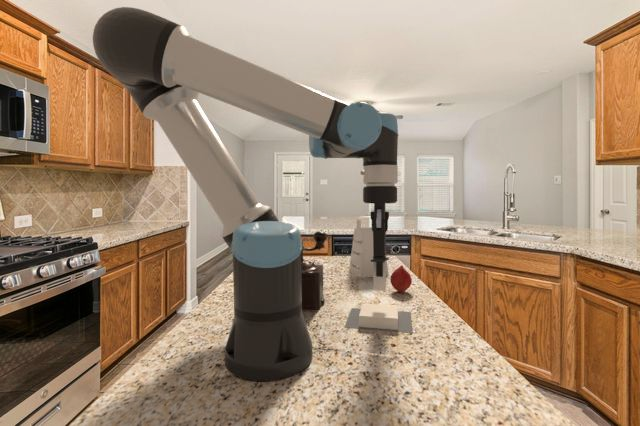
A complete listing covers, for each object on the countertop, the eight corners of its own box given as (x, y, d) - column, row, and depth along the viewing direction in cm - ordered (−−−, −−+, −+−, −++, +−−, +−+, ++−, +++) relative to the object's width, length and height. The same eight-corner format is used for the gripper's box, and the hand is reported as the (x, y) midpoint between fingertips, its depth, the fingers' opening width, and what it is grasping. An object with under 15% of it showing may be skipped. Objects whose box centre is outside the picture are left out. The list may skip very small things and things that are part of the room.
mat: (412, 334, 68) (412, 332, 68) (344, 328, 71) (344, 327, 71) (410, 313, 80) (410, 312, 80) (351, 309, 83) (351, 308, 83)
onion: (388, 294, 95) (388, 266, 94) (393, 289, 100) (393, 262, 99) (408, 297, 92) (409, 268, 91) (413, 291, 97) (413, 264, 97)
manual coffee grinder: (322, 312, 81) (321, 238, 80) (277, 310, 83) (276, 237, 82) (328, 292, 97) (328, 230, 96) (290, 291, 98) (289, 230, 97)
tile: (397, 316, 77) (397, 330, 70) (362, 313, 79) (358, 327, 71) (397, 305, 77) (397, 318, 69) (362, 303, 79) (358, 315, 71)
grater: (348, 270, 123) (348, 216, 122) (374, 268, 126) (375, 215, 125) (360, 277, 113) (360, 218, 112) (388, 275, 116) (389, 217, 115)
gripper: (365, 185, 82) (365, 281, 84) (360, 185, 70) (360, 297, 71) (397, 185, 81) (396, 282, 82) (397, 184, 68) (396, 299, 69)
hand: (379, 289), depth 77 cm, fingers closed
